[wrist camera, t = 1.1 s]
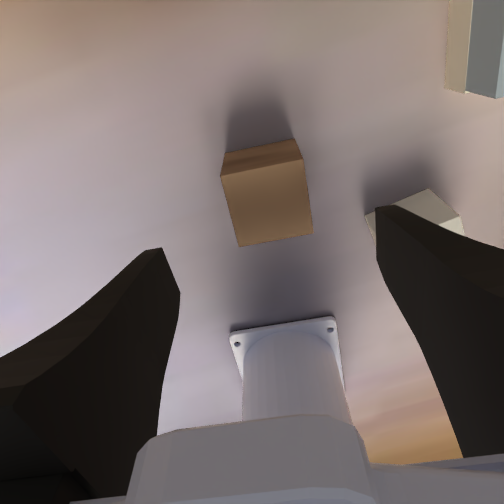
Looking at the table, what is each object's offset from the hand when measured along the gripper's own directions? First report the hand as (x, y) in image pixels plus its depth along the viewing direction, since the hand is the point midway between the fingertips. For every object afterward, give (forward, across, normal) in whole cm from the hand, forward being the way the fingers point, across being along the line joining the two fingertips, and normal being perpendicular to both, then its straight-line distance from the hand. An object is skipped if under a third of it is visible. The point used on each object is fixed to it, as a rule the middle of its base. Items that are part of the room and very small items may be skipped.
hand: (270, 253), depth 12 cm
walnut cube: (+10, 0, +2) cm, 10 cm away
